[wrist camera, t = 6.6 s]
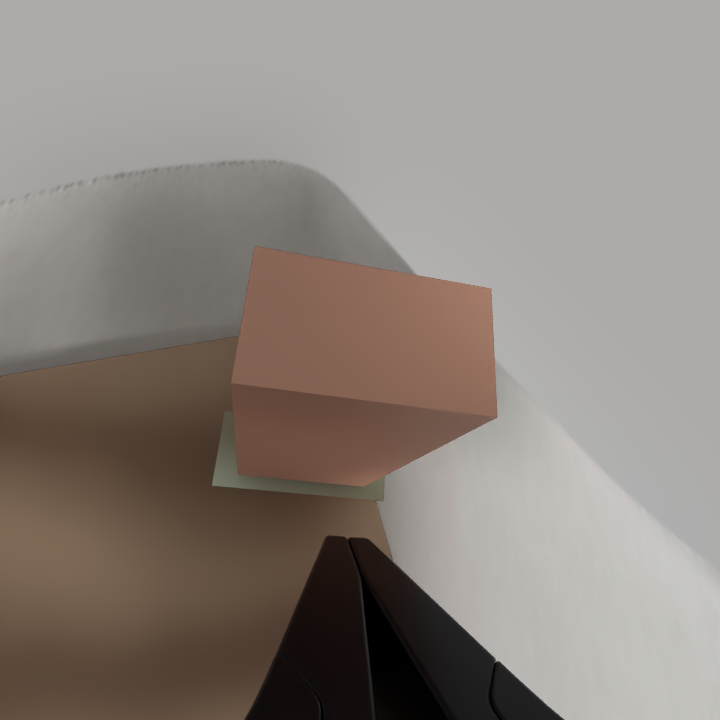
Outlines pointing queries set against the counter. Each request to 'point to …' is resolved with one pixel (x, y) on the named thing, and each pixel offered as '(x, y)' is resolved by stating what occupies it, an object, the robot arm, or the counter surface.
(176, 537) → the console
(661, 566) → the counter surface
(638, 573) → the counter surface
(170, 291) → the counter surface
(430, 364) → the salmon pink rectangular block
